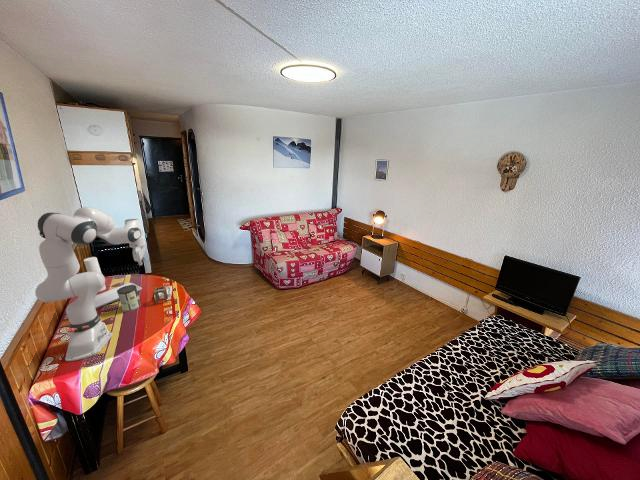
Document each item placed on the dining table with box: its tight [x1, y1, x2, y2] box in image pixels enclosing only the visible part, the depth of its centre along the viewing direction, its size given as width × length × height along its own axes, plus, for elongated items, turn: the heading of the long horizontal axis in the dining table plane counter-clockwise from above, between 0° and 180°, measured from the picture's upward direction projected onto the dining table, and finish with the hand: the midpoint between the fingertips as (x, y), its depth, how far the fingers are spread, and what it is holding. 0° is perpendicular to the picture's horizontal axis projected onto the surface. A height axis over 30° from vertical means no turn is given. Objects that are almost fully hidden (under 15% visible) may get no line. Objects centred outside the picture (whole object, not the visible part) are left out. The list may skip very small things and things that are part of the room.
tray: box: [94, 282, 143, 310], centre depth 182 cm, size 17×32×4 cm, turn 149°
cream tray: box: [153, 285, 173, 301], centre depth 186 cm, size 12×10×3 cm
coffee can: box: [117, 284, 142, 313], centre depth 169 cm, size 10×10×14 cm
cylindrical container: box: [83, 256, 107, 293], centre depth 189 cm, size 7×7×25 cm
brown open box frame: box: [153, 285, 169, 305], centre depth 176 cm, size 6×6×10 cm
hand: (142, 262), depth 173 cm, fingers open, 8 cm apart
